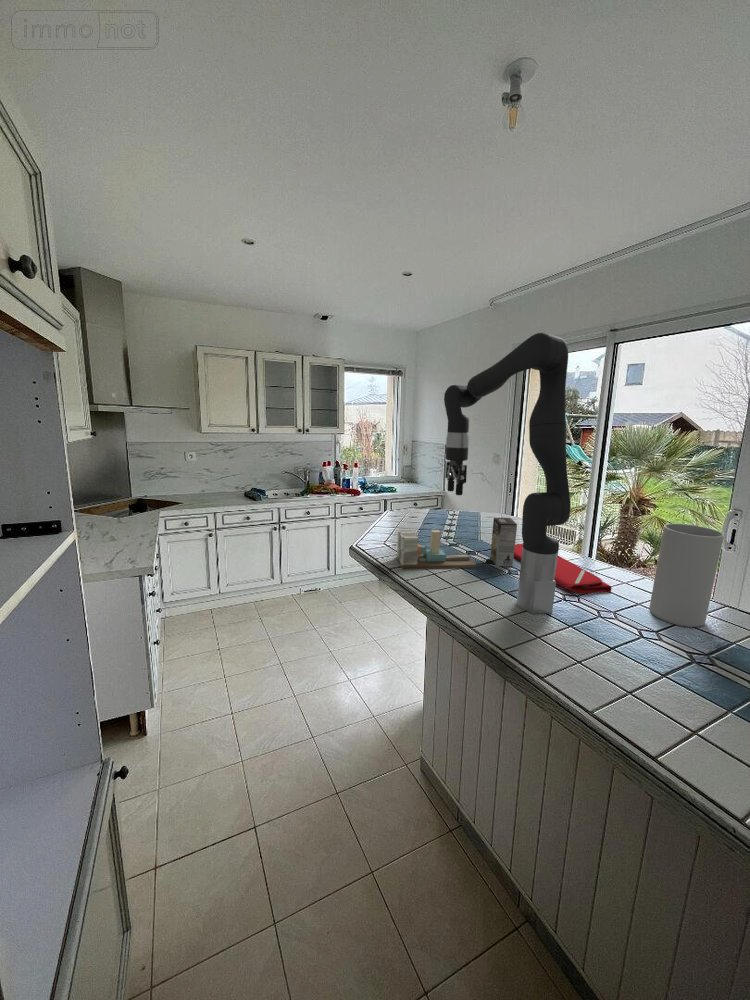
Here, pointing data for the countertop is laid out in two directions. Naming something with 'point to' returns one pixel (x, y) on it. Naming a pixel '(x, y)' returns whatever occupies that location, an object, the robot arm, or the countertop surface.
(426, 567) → the rail bench
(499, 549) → the coffee box
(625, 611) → the countertop surface
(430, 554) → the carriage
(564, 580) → the folded red towel
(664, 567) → the cylinder vase
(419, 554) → the button
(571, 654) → the countertop surface
